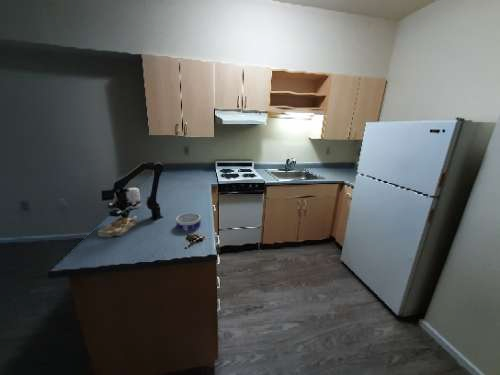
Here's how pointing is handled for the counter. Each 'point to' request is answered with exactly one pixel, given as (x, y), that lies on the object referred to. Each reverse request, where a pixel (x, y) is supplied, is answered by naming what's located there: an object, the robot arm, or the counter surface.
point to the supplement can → (134, 197)
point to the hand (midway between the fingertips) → (125, 220)
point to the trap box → (115, 231)
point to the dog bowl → (188, 221)
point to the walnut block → (120, 222)
